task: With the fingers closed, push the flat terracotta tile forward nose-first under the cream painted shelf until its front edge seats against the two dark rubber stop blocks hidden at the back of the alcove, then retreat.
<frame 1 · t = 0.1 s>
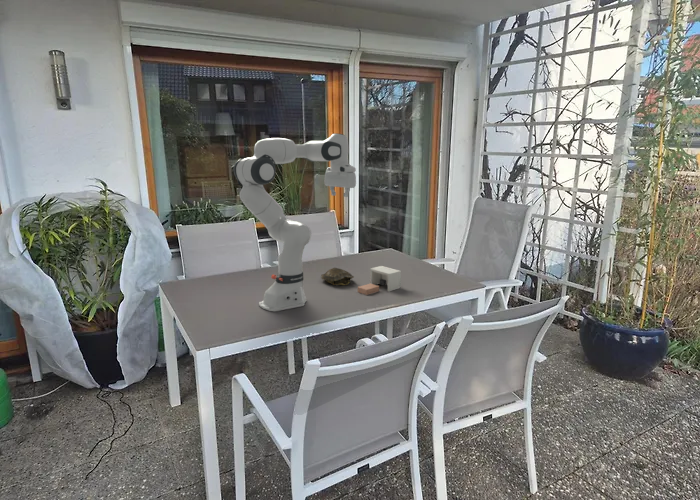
hand: (339, 196, 219), 48 cm above the table, fingers open, 8 cm apart
stop blocks: (388, 283, 233), in the shelf
tile: (368, 292, 224), on the table
shelf: (381, 287, 230), on the table
turtle shell: (337, 282, 241), on the table
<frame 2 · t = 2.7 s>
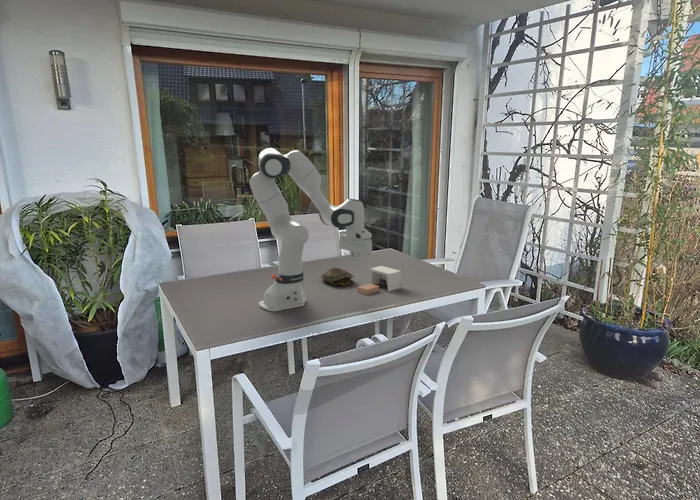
hand: (355, 260, 214), 18 cm above the table, fingers closed
nothing on the table moved.
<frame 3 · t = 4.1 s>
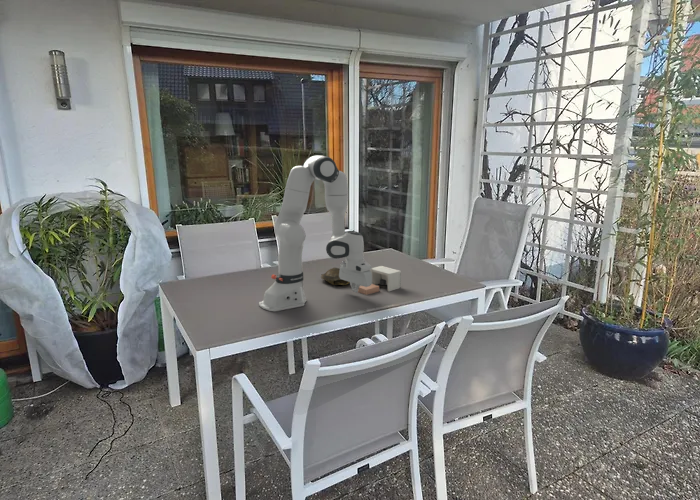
hand: (355, 291, 218), 2 cm above the table, fingers closed
nothing on the table moved.
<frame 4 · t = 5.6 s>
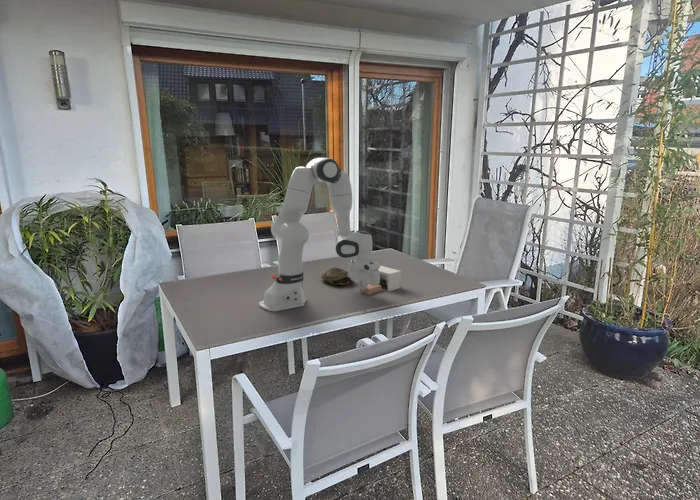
hand: (363, 289, 221), 2 cm above the table, fingers closed
tile: (370, 291, 225), on the table
everything else where it was.
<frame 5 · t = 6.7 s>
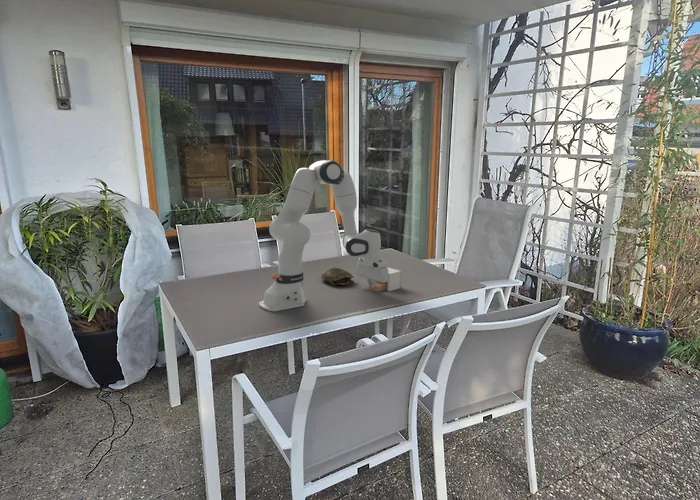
hand: (371, 287, 225), 2 cm above the table, fingers closed
tile: (379, 289, 229), on the table, touching gripper
everything else where it was.
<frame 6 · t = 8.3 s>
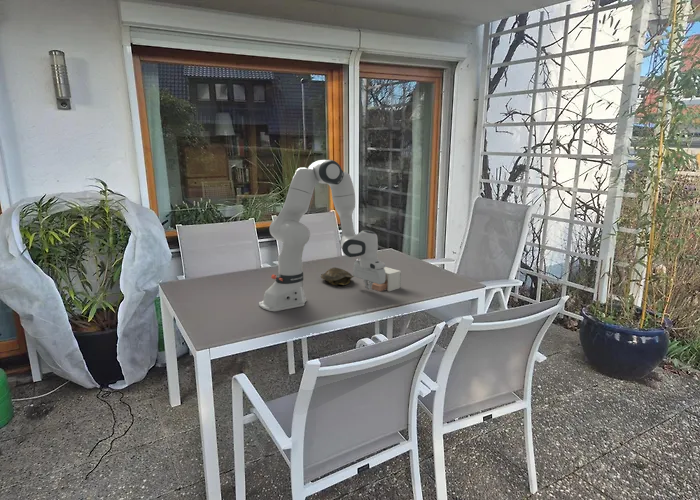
hand: (368, 288, 224), 1 cm above the table, fingers closed
tile: (381, 288, 230), on the table
everything else where it was.
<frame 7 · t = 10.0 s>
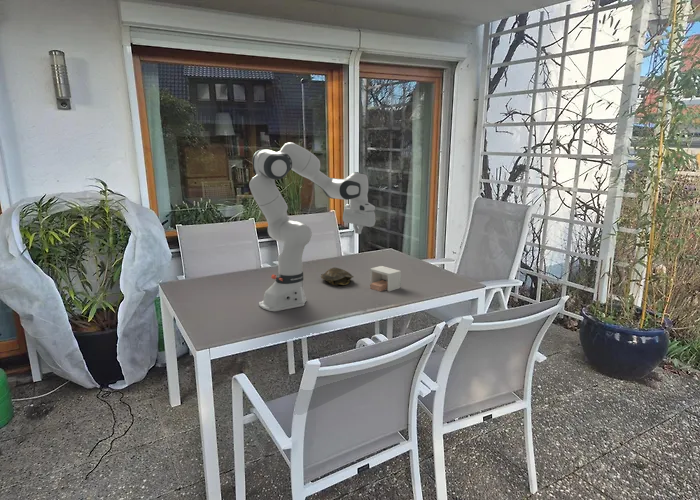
hand: (358, 233, 219), 30 cm above the table, fingers closed
nothing on the table moved.
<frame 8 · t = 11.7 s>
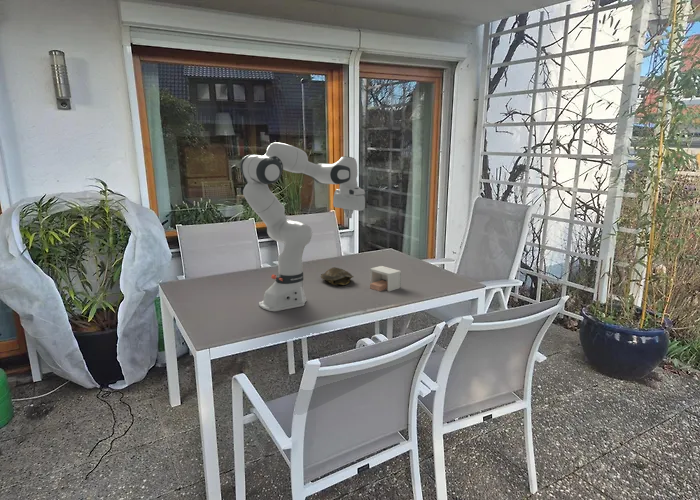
hand: (348, 217, 220), 37 cm above the table, fingers closed
nothing on the table moved.
at the end: tile 0.2 cm off-centre on the shelf, point 0.0 cm above the shelf's base; tile tilted 0° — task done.
